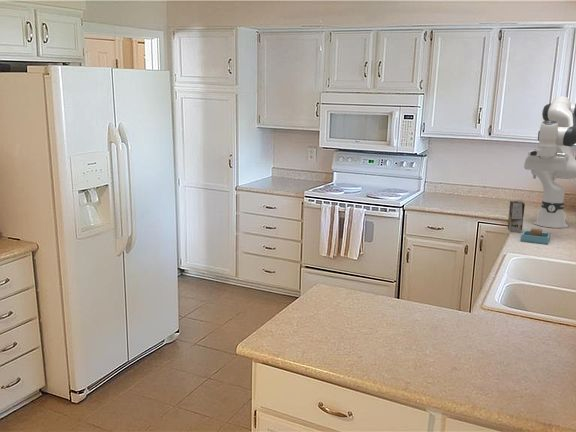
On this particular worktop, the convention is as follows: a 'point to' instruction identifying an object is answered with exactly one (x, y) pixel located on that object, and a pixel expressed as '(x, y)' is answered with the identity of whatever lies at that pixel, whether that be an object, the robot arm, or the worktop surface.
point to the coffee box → (516, 216)
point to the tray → (535, 238)
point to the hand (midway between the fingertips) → (544, 179)
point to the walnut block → (536, 232)
